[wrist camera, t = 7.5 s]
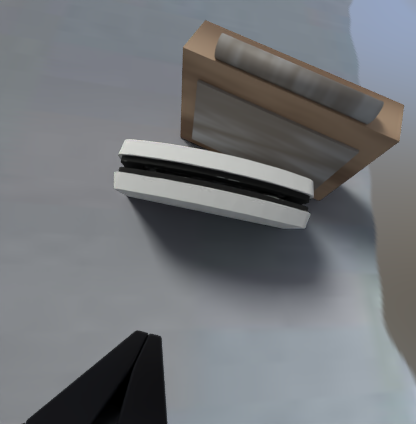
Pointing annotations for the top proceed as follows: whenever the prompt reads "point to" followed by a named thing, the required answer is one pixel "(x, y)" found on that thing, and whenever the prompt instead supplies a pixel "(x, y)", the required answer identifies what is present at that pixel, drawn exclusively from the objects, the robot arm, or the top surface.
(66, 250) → the top surface
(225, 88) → the tan flat boxy piece
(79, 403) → the robot arm
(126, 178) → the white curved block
